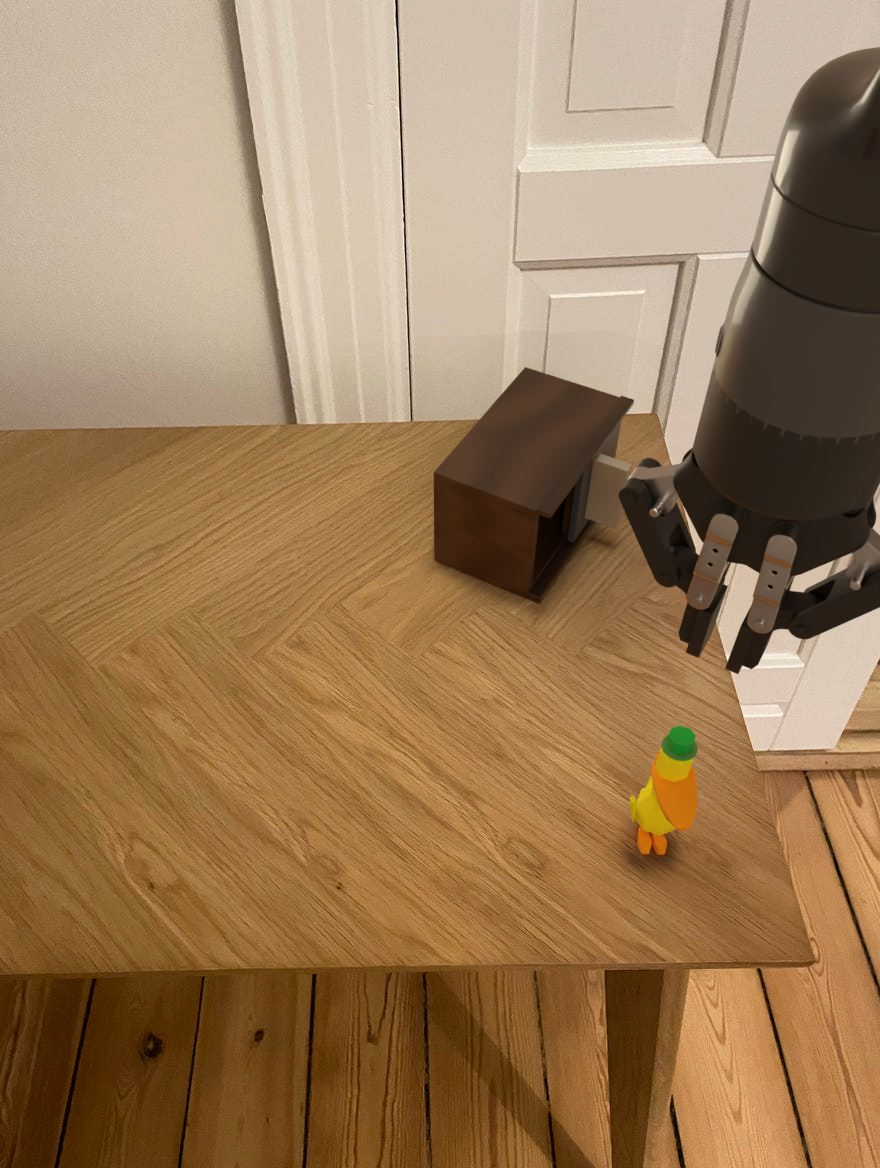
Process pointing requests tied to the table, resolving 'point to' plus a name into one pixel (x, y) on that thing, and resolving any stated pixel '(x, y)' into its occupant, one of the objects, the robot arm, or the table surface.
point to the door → (600, 490)
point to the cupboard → (521, 482)
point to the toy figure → (667, 792)
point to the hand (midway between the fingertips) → (717, 651)
